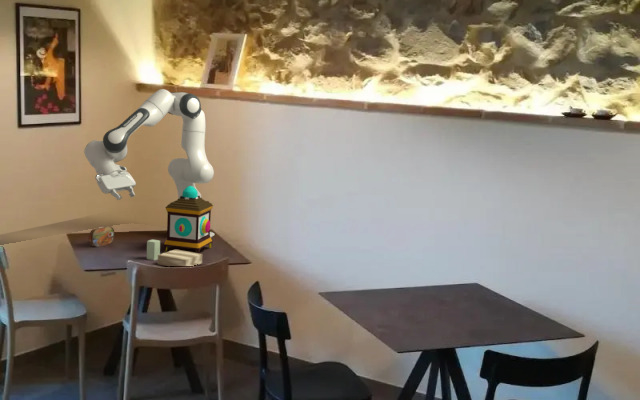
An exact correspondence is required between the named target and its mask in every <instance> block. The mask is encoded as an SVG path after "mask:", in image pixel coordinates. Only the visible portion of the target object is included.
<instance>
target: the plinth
mask: <svg viewBox="0 0 640 400" xmlns="http://www.w3.org/2000/svg"><path fill="white" fill-rule="evenodd" d="M203 256H204V255H203V253H200V254H199V253H196V252H193V251H186V250H180V249H173V250H169V251H166V252H163V253H160V255H158V259H157V265H158V266H159V265H162V266H165V267H166V266H167V267H170V266H193V267H195V266H194V265H196V266H198V265H200V264H203ZM197 264H198V265H197Z"/></svg>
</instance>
